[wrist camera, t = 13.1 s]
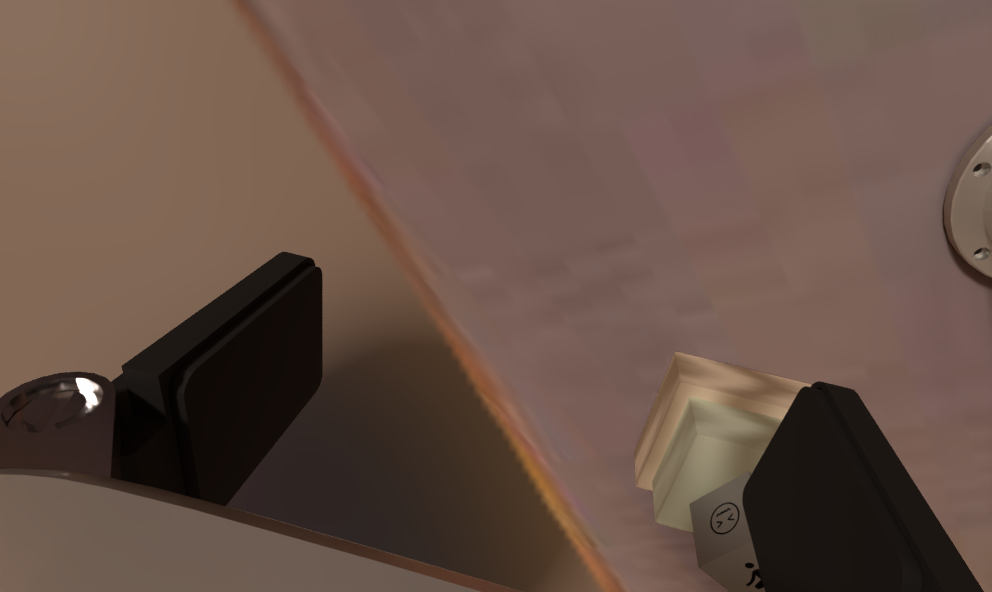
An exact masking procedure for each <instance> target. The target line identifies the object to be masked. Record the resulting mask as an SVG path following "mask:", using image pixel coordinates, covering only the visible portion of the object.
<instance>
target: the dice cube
mask: <svg viewBox="0 0 992 592" xmlns="http://www.w3.org/2000/svg"><path fill="white" fill-rule="evenodd" d="M751 474H752V473H750V472H749V471H748V472H746V473H744V474H742V475H740V476H739V477H737V478H735V479H733V480H731V481H730V482H728V483H726V484H724V485H722V486H721V487H719V488H717V489H715V490H713V491H712V492H710V493H708V494H706V495H704V496H703V497H701V498H699V499H697V500H695V501H694V502H692V503H690V504H689V505H690V512H691V519H692V525H693V532H694V539H695V545H696V552H697V558H698V565H699V568H701V569H702V570H703V571H704V572H706V573H707V574H708V575H710V576H711V577H712V578H713V579H715V580H716V581H717V582H718V583H720V584H721V585H722V586H724V587H725V588H726V589H727V590H729V591H730V592H765V589H764V585H763V581H762V577H761V574H760V570H759V566H758V562H757V558H756V554H755V550H754V547H753V543H752V539H751V535H750V531H749V527H748V524H747V520H746V516H745V512H744V508H743V503H742V496H743V490H744V487H745V485H746V483H747V481H748V480H749V478H750V476H751Z"/></svg>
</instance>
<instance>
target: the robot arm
mask: <svg viewBox="0 0 992 592" xmlns="http://www.w3.org/2000/svg"><path fill="white" fill-rule="evenodd" d="M976 165H977V167H976V168H975V166H976ZM974 168H975V169H974ZM944 225H945V228H946V232H947V235H948V238H949V241H950V242H951V244H952V246H953V247H954V249H955V250H956V252H957V253H958V254H959V255H960V256H961V257H962V258H963V259H964V260H965V261H966V262H967V263H968V264H969V265H971V266H972V267H974V268H975V269H977V270H978V271H980V272H981V273H983V274H984V275H986V276H988V277H991V278H992V125H991V126H990V127H988V128H987V129H986V130H985V131H984V132H983V133H982V135H981V136H980V137H979V138H978V139H977V140H976V141H975V142H974V143H973V144H972V146H971V147H970V148H969V149H968V151H967V152H966V154H965V155H964V157H963V158H962V160H961V161H960V163H959V164H958V166H957V167H956V169H955V172H954V174H953V176H952V179H951V181H950V183H949V186H948V188H947V193H946V198H945V203H944ZM122 370H123V374H121V375H120V376H118V377H117V378H116V379H114V380H113V381H112V382H110V381H109V380H108V379H107V378H106V377H103V376H101V375H98V374H95V373H88V372H64V373H57V374H52V375H48V376H43V377H40V378H37V379H34V380H32V381H29V382H26V383H24V384H21V385H20V386H18V387H16V388H14V389H12V390H11V391H9V392H7V393H6V394H4V395H3V396H2V397H1V398H0V592H522V591H518V590H514V589H512V588H508V587H505V586H501V585H497V584H494V583H491V582H487V581H484V580H481V579H477V578H474V577H470V576H467V575H464V574H460V573H456V572H453V571H450V570H446V569H443V568H440V567H436V566H433V565H429V564H426V563H422V562H419V561H416V560H412V559H409V558H405V557H402V556H398V555H395V554H391V553H388V552H384V551H380V550H377V549H374V548H370V547H367V546H363V545H360V544H356V543H353V542H350V541H346V540H343V539H339V538H336V537H332V536H329V535H325V534H321V533H318V532H315V531H311V530H307V529H304V528H301V527H297V526H294V525H290V524H287V523H283V522H280V521H276V520H273V519H269V518H266V517H262V516H259V515H255V514H252V513H248V512H244V511H241V510H237V509H233V508H229V507H226V505H227V503H228V502H229V501H230V500H231V499H232V497H233V496H234V495H235V494H236V492H237V491H238V490H239V489H240V487H241V486H242V485H243V483H244V482H245V481H246V480H247V478H248V477H249V476H250V475H251V473H252V472H253V471H254V470H255V468H256V467H257V466H258V464H259V463H260V462H261V461H262V459H263V458H264V457H265V456H266V454H267V453H268V452H269V451H270V449H271V448H272V447H273V446H274V444H275V443H276V442H277V441H278V439H279V438H280V437H281V435H282V434H283V433H284V432H285V430H286V429H287V428H288V427H289V425H290V424H291V423H292V422H293V420H294V419H295V418H296V416H297V415H298V414H299V413H300V411H301V410H302V409H303V408H304V406H305V405H306V404H307V402H308V401H309V400H310V399H311V398H312V396H313V395H314V394H315V392H316V391H317V389H318V387H319V385H320V382H321V379H322V271H321V269H320V268H319V267H315V263H314V260H313V259H311V258H308V257H304V256H300V255H296V254H292V253H288V252H281V253H279V254H278V255H276V256H275V257H274V258H272V259H271V260H269V261H268V262H267V263H265V264H264V265H262V266H261V267H260V268H258V269H257V270H256V271H254V272H253V273H251V274H250V275H248V276H247V277H246V278H244V279H243V280H241V281H240V282H239V283H237V284H236V285H234V286H233V287H232V288H230V289H229V290H228V291H226V292H225V293H223V294H222V295H220V296H219V297H218V298H216V299H215V300H213V301H212V302H211V303H209V304H208V305H206V306H205V307H204V308H202V309H201V310H199V311H198V312H197V313H195V314H194V315H192V316H191V317H190V318H188V319H187V320H185V321H184V322H183V323H181V324H180V325H178V326H177V327H176V328H174V329H173V330H171V331H170V332H169V333H167V334H166V335H164V336H163V337H162V338H160V339H159V340H157V341H156V342H155V343H153V344H152V345H151V346H149V347H148V348H146V349H145V350H143V351H142V352H141V353H139V354H138V355H136V356H135V357H134V358H132V359H131V360H129V361H128V362H127V363H125V364H124V365H122ZM742 503H743V508H744V512H745V516H746V520H747V524H748V527H749V531H750V535H751V539H752V543H753V547H754V550H755V554H756V558H757V562H758V566H759V570H760V574H761V577H762V581H763V585H764V589H765V592H984V591H983V590H982V588H981V587H980V585H979V583H978V582H977V580H976V579H975V577H974V576H973V574H972V572H971V571H970V569H969V568H968V566H967V565H966V563H965V561H964V560H963V558H962V557H961V555H960V554H959V552H958V551H957V549H956V547H955V546H954V544H953V543H952V541H951V540H950V538H949V536H948V535H947V533H946V532H945V530H944V529H943V527H942V525H941V524H940V522H939V521H938V519H937V518H936V516H935V514H934V513H933V511H932V510H931V508H930V507H929V505H928V504H927V502H926V500H925V499H924V497H923V496H922V494H921V493H920V491H919V489H918V488H917V486H916V485H915V483H914V482H913V480H912V478H911V477H910V475H909V474H908V472H907V471H906V469H905V467H904V466H903V464H902V463H901V461H900V460H899V458H898V457H897V455H896V453H895V452H894V450H893V449H892V447H891V446H890V444H889V442H888V441H887V439H886V438H885V436H884V435H883V433H882V431H881V430H880V428H879V427H878V425H877V424H876V422H875V420H874V419H873V417H872V416H871V414H870V413H869V411H868V410H867V408H866V406H865V405H864V403H863V402H862V400H861V399H860V397H859V395H858V394H857V393H856V392H855V391H854V390H852V389H849V388H845V387H841V386H837V385H833V384H828V383H824V382H820V381H819V382H815V383H814V384H813V385H812V386H811V387H808V386H805V387H803V388H801V389H800V391H799V392H798V394H797V396H796V397H795V399H794V401H793V403H792V404H791V406H790V408H789V410H788V411H787V413H786V415H785V417H784V418H783V420H782V422H781V424H780V425H779V427H778V429H777V431H776V432H775V434H774V436H773V438H772V439H771V441H770V443H769V445H768V446H767V448H766V450H765V452H764V453H763V455H762V457H761V459H760V460H759V462H758V464H757V466H756V467H755V469H754V471H753V473H752V474H751V476H750V478H749V480H748V481H747V483H746V485H745V487H744V490H743V496H742Z"/></svg>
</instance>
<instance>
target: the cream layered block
mask: <svg viewBox="0 0 992 592" xmlns="http://www.w3.org/2000/svg"><path fill="white" fill-rule="evenodd" d="M805 386H808V387H811V386H812V385H811V384H807V383H803V382H799V381H795V380H791V379H787V378H783V377H779V376H774V375H770V374H766V373H762V372H758V371H754V370H750V369H746V368H742V367H737V366H733V365H729V364H725V363H721V362H717V361H713V360H709V359H705V358H700V357H696V356H692V355H688V354H684V353H680V352H676V351H675V353H674V355H673V358H672V360H671V363H670V365H669V368H668V370H667V373H666V375H665V378H664V380H663V383H662V385H661V388H660V390H659V393H658V395H657V398H656V400H655V402H654V405H653V407H652V410H651V412H650V415H649V417H648V420H647V422H646V425H645V427H644V430H643V432H642V435H641V437H640V440H639V442H638V445H637V447H636V450H635V470H636V487H640V488H643V489H647V490H651V491H653V499H654V511H655V523H659V524H662V525H666V526H670V527H673V528H677V529H681V530H684V531H688V532H692V533H694V532H693V525H692V519H691V512H690V505H689V504H690V503H692V502H694V501H695V500H697V499H699V498H701V497H703V496H704V495H706V494H708V493H710V492H712V491H713V490H715V489H717V488H719V487H721V486H722V485H724V484H726V483H728V482H730V481H731V480H733V479H735V478H737V477H739V476H740V475H742V474H744V473H746V472H748V471H749V472H750V473H753V471H754V469H755V467H756V466H757V464H758V462H759V460H760V459H761V457H762V455H763V453H764V452H765V450H766V448H767V446H768V445H769V443H770V441H771V439H772V438H773V436H774V434H775V432H776V431H777V429H778V427H779V425H780V424H781V422H782V420H783V418H784V417H785V415H786V413H787V411H788V410H789V408H790V406H791V404H792V403H793V401H794V399H795V397H796V396H797V394H798V392H799V391H800V389H801V388H803V387H805Z"/></svg>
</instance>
